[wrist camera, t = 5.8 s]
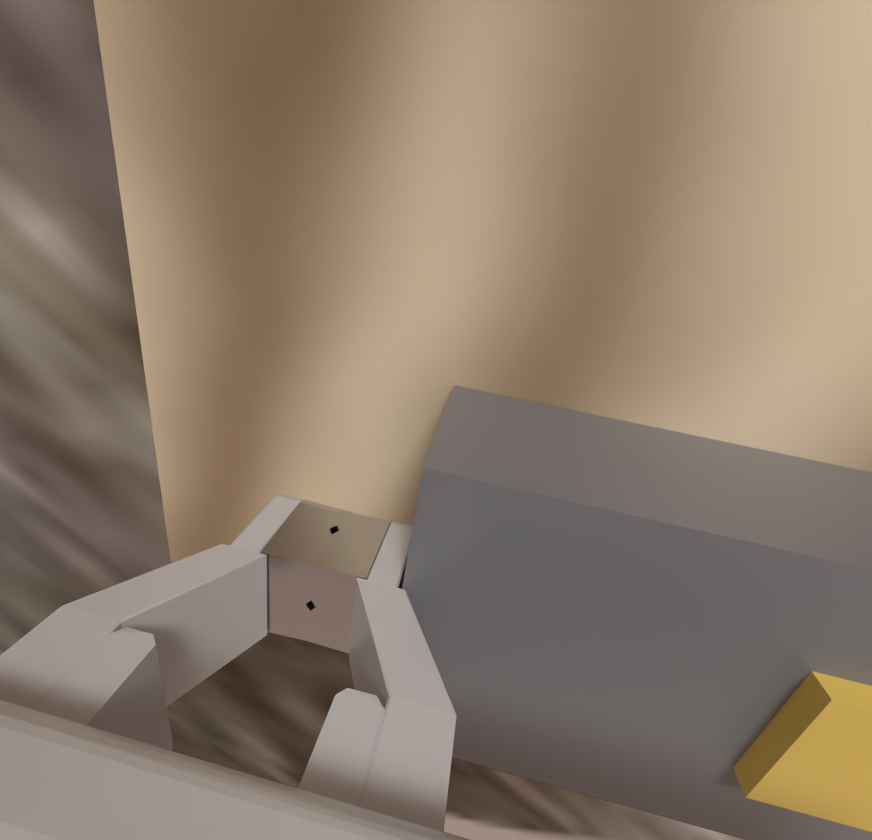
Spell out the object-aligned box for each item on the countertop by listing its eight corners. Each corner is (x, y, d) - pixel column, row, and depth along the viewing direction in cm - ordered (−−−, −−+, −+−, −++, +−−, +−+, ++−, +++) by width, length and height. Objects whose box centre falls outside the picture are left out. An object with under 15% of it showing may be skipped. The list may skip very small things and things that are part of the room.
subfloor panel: (201, 560, 14) (174, 587, 13) (130, -156, 7) (62, -228, 6) (1074, 778, 12) (1134, 834, 10) (2118, 46, 5) (2564, -8, 4)
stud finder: (413, 594, 11) (369, 759, 8) (454, 384, 9) (417, 483, 5) (804, 693, 10) (960, 928, 7) (971, 493, 8) (1352, 698, 4)
